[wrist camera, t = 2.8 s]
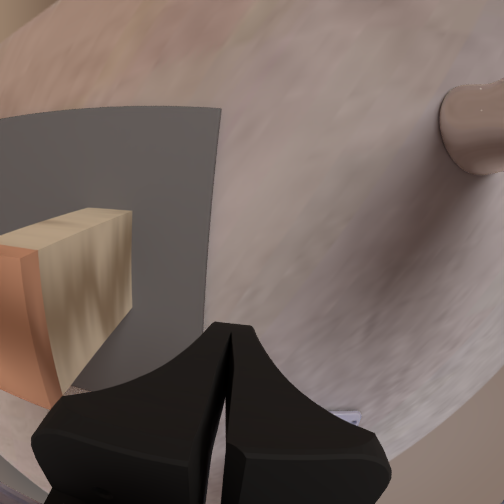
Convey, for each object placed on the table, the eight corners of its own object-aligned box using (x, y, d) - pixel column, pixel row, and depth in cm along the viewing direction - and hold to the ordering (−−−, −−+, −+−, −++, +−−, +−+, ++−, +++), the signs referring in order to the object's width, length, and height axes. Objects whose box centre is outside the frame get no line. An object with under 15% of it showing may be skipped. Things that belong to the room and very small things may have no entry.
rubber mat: (200, 409, 21) (199, 413, 21) (-6, 354, 21) (-9, 356, 21) (221, 109, 16) (220, 108, 16) (-27, 125, 16) (-30, 124, 16)
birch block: (132, 307, 19) (52, 410, 9) (90, 300, 19) (-2, 388, 9) (132, 210, 17) (20, 258, 8) (88, 207, 17) (-35, 248, 8)
